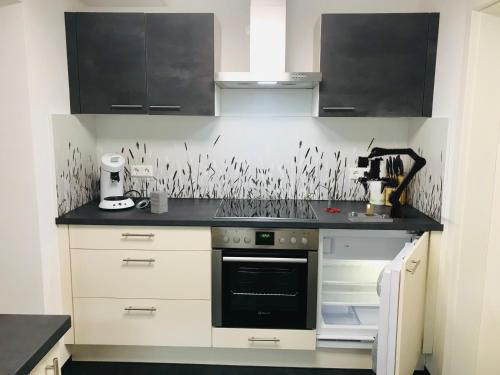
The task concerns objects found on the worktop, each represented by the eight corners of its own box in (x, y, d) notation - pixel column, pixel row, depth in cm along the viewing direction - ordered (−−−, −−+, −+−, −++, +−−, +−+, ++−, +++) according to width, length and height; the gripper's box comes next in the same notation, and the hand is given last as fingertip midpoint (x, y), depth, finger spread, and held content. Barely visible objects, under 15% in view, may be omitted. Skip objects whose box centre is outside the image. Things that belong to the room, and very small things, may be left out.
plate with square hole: (386, 218, 237) (386, 210, 237) (392, 222, 227) (393, 214, 227) (347, 217, 237) (347, 210, 236) (352, 221, 227) (352, 214, 226)
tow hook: (332, 209, 262) (322, 210, 257) (333, 189, 261) (324, 190, 255) (342, 211, 256) (333, 213, 250) (344, 191, 254) (334, 192, 248)
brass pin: (372, 219, 234) (372, 203, 233) (374, 220, 230) (375, 205, 229) (365, 219, 234) (366, 203, 233) (367, 220, 230) (368, 205, 229)
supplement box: (159, 210, 252) (158, 190, 250) (168, 211, 248) (167, 191, 246) (150, 212, 245) (150, 191, 244) (159, 213, 242) (159, 193, 240)
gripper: (384, 166, 249) (383, 191, 252) (355, 166, 248) (354, 192, 250) (392, 168, 238) (390, 194, 241) (361, 168, 237) (360, 195, 239)
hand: (373, 194), depth 243 cm, fingers open, 9 cm apart
